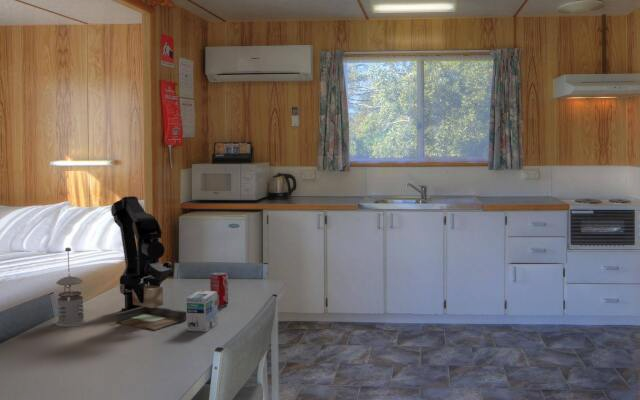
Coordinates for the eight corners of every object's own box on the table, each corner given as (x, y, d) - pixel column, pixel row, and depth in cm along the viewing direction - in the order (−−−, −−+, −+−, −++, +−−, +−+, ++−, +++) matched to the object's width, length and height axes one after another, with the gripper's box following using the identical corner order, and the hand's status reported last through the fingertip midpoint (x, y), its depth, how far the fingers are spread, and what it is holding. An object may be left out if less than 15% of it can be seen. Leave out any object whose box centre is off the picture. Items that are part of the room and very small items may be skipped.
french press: (57, 328, 218) (53, 250, 216) (52, 319, 228) (49, 245, 226) (89, 324, 223) (86, 248, 220) (83, 315, 233) (80, 243, 231)
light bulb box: (206, 332, 212) (206, 298, 211) (186, 331, 213) (185, 297, 212) (218, 323, 222) (217, 290, 221) (199, 322, 224) (198, 290, 223)
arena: (116, 322, 224) (115, 313, 224) (148, 313, 236) (148, 304, 235) (155, 330, 214) (154, 321, 214) (186, 320, 226) (186, 311, 226)
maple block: (151, 308, 222) (151, 289, 221) (132, 304, 227) (132, 286, 226) (163, 304, 226) (162, 287, 226) (144, 301, 231) (143, 283, 231)
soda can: (207, 306, 244) (206, 273, 243) (216, 302, 250) (215, 270, 249) (222, 308, 241) (222, 275, 240) (231, 304, 247) (230, 271, 246)
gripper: (142, 261, 213) (143, 310, 214) (184, 252, 228) (185, 298, 230) (117, 258, 219) (119, 305, 220) (160, 249, 234) (161, 294, 236)
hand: (147, 301), depth 226 cm, fingers closed on maple block, 5 cm apart
